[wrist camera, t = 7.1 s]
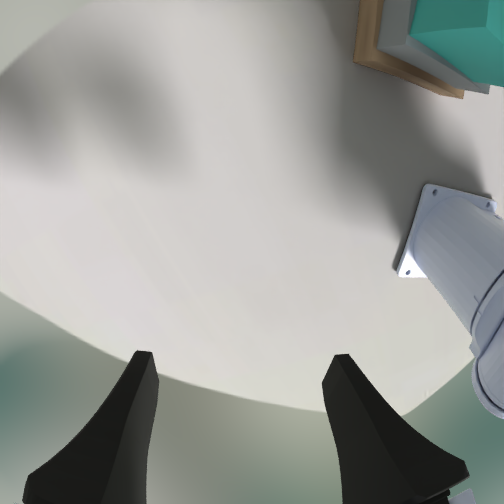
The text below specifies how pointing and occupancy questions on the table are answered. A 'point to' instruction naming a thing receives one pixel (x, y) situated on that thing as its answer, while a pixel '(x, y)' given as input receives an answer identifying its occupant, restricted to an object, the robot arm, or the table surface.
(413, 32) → the teal block
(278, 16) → the table surface
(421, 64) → the slate slab
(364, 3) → the walnut slab
